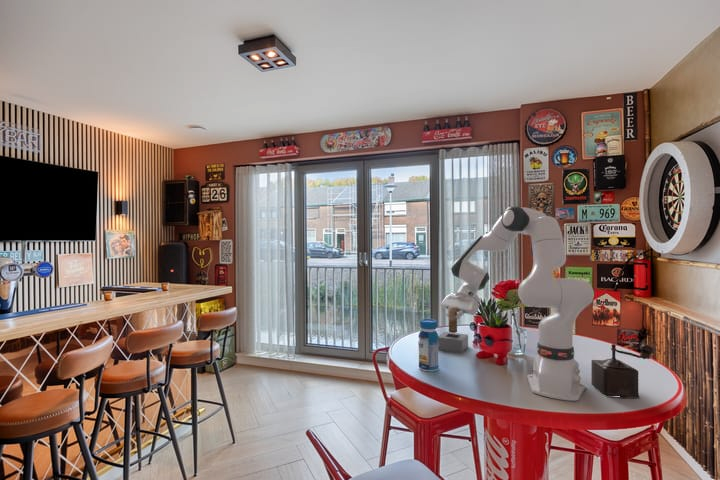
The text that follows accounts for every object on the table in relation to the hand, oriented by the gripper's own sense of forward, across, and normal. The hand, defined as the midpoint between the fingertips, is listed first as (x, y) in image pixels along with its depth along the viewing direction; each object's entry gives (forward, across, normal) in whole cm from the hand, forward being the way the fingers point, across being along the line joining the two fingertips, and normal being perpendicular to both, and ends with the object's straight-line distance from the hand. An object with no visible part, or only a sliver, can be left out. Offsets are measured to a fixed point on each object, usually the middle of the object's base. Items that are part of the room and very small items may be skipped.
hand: (451, 317), depth 175 cm
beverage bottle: (+32, +14, -10) cm, 36 cm away
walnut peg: (+5, 0, +6) cm, 7 cm away
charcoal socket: (+10, 0, +11) cm, 15 cm away
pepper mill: (+4, +68, +18) cm, 71 cm away
